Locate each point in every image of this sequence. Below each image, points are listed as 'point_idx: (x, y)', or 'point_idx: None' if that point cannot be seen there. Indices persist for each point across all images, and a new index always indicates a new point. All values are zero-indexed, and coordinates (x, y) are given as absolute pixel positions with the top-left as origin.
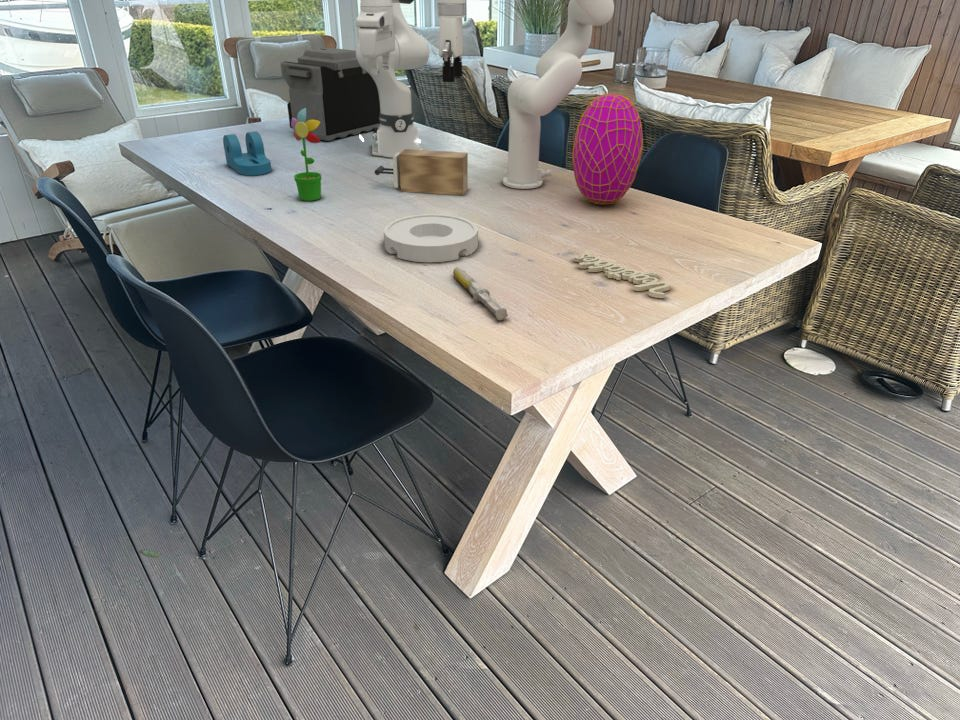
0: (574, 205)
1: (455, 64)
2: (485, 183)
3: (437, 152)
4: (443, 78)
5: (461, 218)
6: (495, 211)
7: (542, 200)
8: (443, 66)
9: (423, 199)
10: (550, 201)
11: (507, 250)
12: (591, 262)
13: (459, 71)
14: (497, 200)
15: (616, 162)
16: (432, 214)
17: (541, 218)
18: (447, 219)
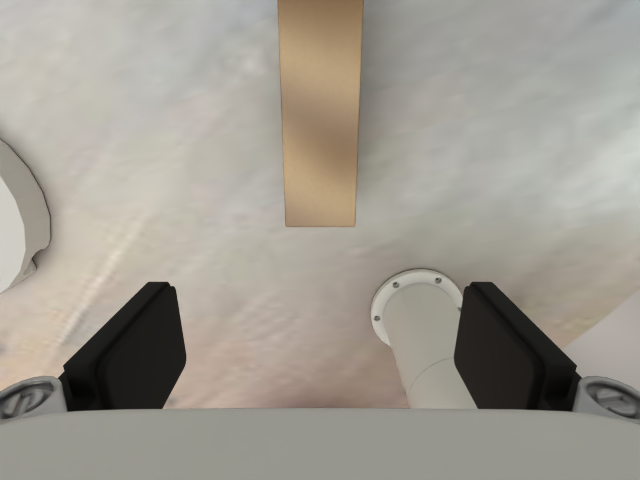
0: None
1: (509, 395)
2: (407, 230)
3: (335, 126)
4: (139, 297)
5: (16, 261)
6: (204, 285)
7: (303, 357)
8: (70, 374)
9: (236, 105)
10: (300, 371)
11: (9, 336)
12: None
13: (472, 378)
14: (279, 277)
15: None
16: (8, 194)
17: (194, 366)
18: (7, 231)
